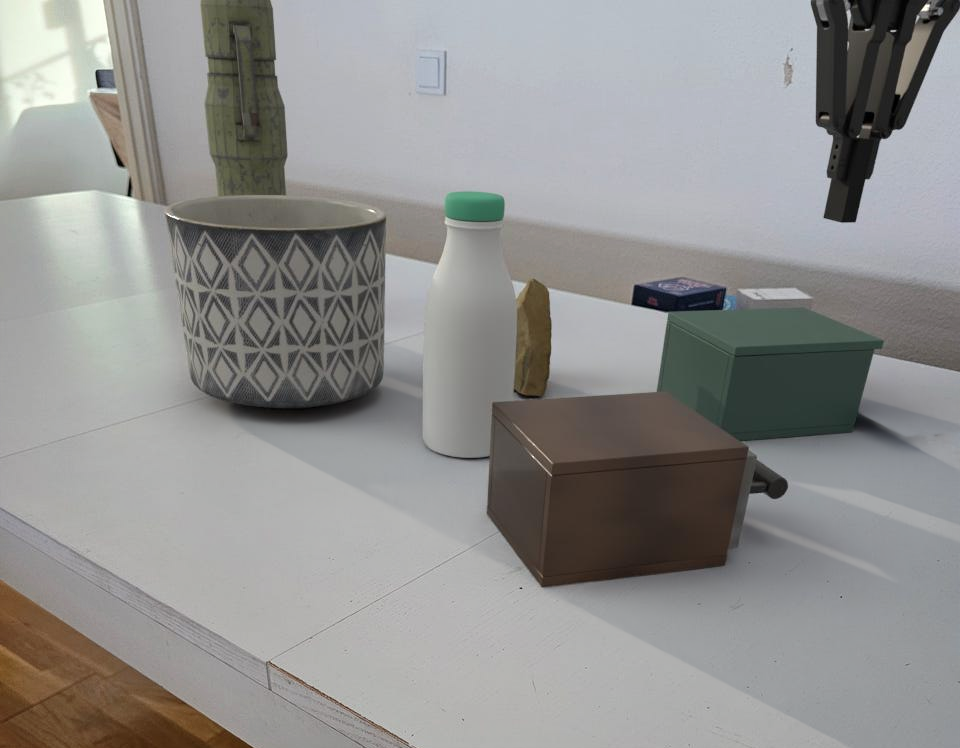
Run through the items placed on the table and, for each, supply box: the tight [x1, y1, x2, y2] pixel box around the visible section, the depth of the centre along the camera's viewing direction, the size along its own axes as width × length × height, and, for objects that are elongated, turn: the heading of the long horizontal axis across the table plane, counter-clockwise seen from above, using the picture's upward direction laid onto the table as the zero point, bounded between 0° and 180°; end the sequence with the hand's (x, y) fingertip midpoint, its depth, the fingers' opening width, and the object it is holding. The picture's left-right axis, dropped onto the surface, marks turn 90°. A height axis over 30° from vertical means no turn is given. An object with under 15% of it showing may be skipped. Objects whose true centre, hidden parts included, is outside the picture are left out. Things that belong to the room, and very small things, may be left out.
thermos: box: [199, 0, 289, 196], centre depth 108 cm, size 9×12×35 cm
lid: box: [666, 306, 885, 356], centre depth 87 cm, size 15×13×1 cm
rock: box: [514, 278, 553, 397], centre depth 95 cm, size 11×9×10 cm
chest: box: [656, 320, 875, 442], centre depth 90 cm, size 15×13×8 cm
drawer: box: [728, 449, 789, 550], centre depth 66 cm, size 17×10×7 cm, turn 108°
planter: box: [164, 194, 387, 410], centre depth 87 cm, size 19×19×16 cm
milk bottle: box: [422, 190, 517, 459], centre depth 76 cm, size 8×8×20 cm
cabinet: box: [486, 391, 750, 588], centre depth 65 cm, size 14×12×9 cm
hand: (839, 219), depth 83 cm, fingers closed
